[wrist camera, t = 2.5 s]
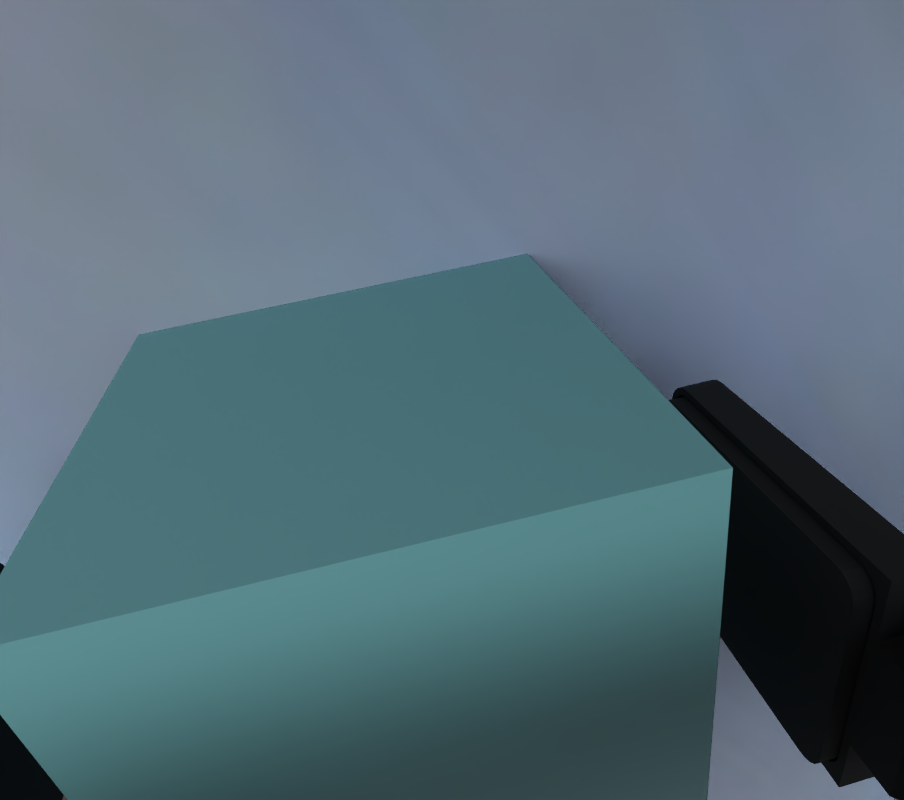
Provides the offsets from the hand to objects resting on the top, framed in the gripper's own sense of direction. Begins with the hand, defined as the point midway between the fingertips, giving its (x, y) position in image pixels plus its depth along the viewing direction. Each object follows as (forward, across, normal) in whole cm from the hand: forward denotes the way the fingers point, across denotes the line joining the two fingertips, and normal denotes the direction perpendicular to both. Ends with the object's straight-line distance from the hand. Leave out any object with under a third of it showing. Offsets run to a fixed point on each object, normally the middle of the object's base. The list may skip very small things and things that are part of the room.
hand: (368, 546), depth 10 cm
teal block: (+2, 0, 0) cm, 2 cm away
